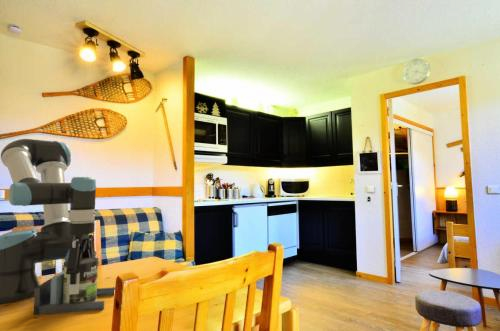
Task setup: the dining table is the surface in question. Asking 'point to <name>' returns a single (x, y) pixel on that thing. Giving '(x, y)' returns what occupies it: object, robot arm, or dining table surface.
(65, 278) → the coffee can
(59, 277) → the pusher plate
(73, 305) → the lane
